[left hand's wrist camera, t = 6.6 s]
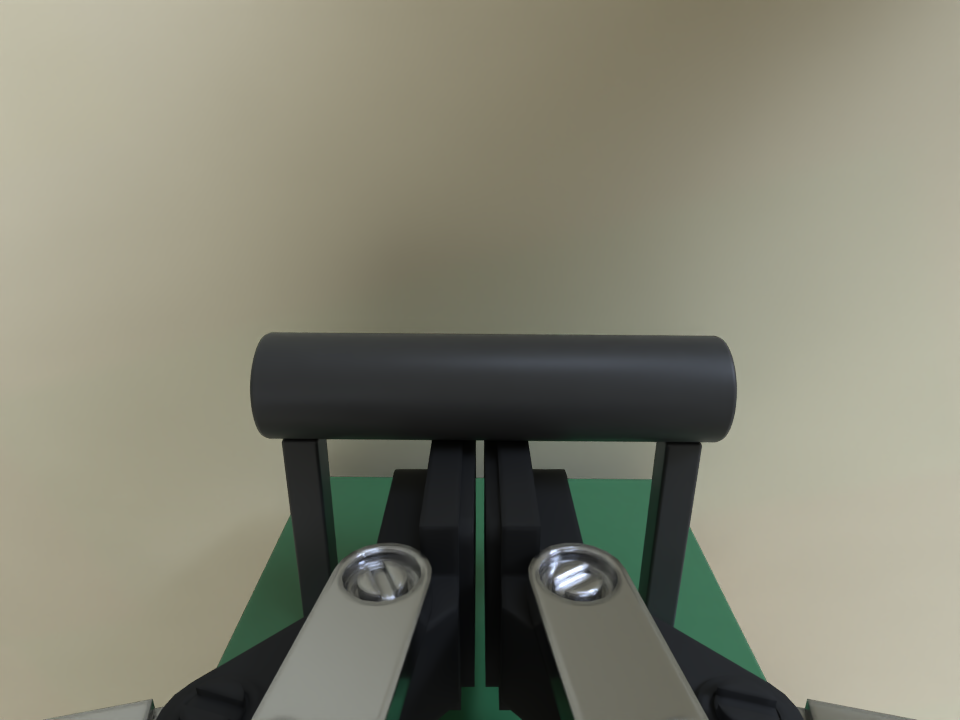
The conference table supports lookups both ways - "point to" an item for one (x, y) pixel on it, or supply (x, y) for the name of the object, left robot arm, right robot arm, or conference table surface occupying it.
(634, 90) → the conference table surface
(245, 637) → the drawer
